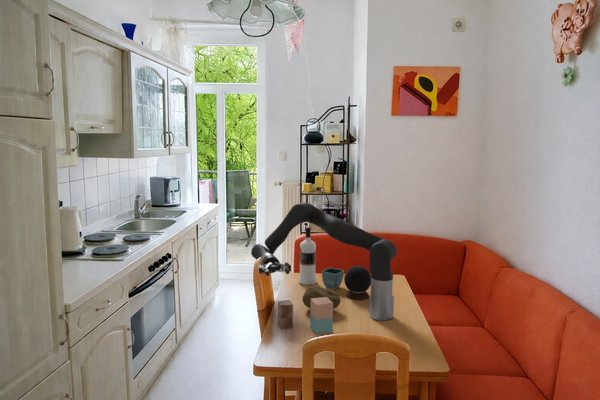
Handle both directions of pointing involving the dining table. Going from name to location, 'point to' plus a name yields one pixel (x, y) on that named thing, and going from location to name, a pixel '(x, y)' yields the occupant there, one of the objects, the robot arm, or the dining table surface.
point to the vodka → (307, 260)
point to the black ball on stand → (357, 283)
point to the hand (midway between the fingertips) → (278, 272)
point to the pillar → (285, 314)
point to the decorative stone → (320, 296)
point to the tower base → (321, 325)
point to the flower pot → (332, 277)
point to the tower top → (321, 308)
